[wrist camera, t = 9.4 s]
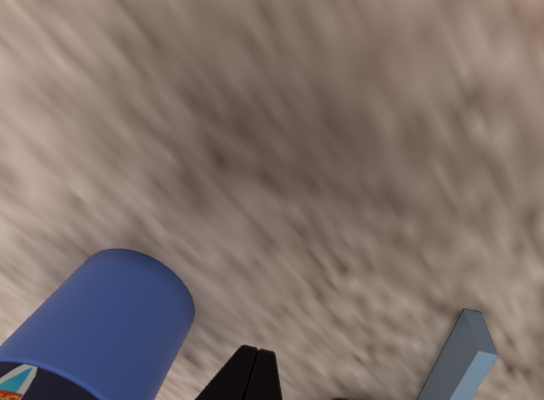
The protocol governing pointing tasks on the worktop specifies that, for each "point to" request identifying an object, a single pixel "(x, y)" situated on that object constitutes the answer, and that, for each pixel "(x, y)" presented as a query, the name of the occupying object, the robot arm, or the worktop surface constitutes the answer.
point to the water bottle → (100, 333)
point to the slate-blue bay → (462, 360)
